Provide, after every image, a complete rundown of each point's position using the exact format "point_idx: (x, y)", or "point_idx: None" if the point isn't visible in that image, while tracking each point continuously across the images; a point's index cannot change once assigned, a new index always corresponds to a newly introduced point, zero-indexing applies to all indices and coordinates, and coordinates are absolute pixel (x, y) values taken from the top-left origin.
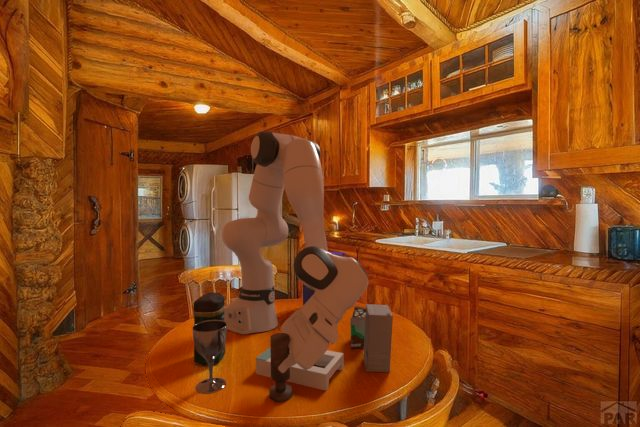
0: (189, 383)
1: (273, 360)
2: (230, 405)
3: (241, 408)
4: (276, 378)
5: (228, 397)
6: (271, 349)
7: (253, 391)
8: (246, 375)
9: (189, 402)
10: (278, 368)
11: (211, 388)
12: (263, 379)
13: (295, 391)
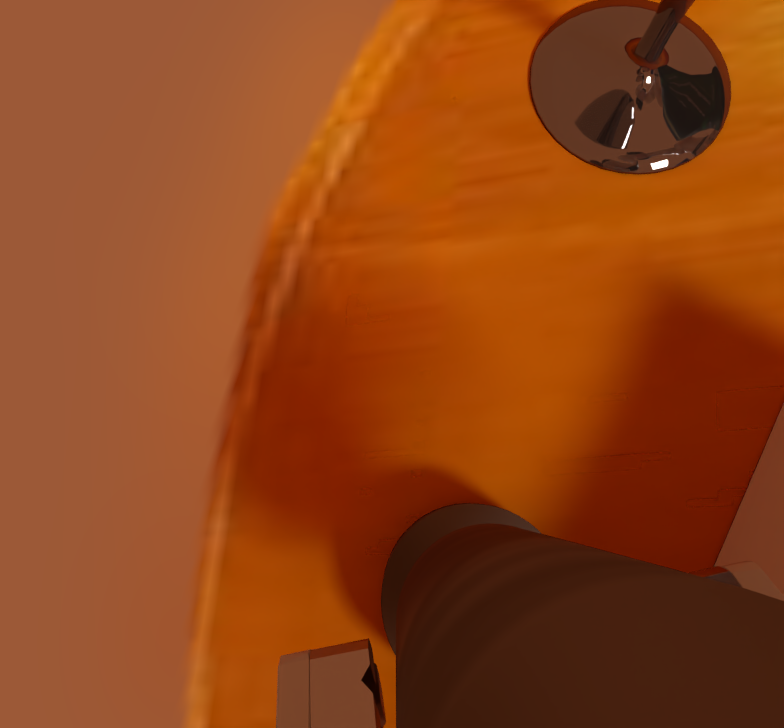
0: None
1: (430, 587)
2: (382, 245)
3: (340, 319)
4: (404, 590)
5: (475, 218)
6: (488, 576)
7: (540, 377)
8: (770, 300)
9: (439, 5)
10: (282, 658)
11: (572, 89)
12: (710, 439)
13: None
